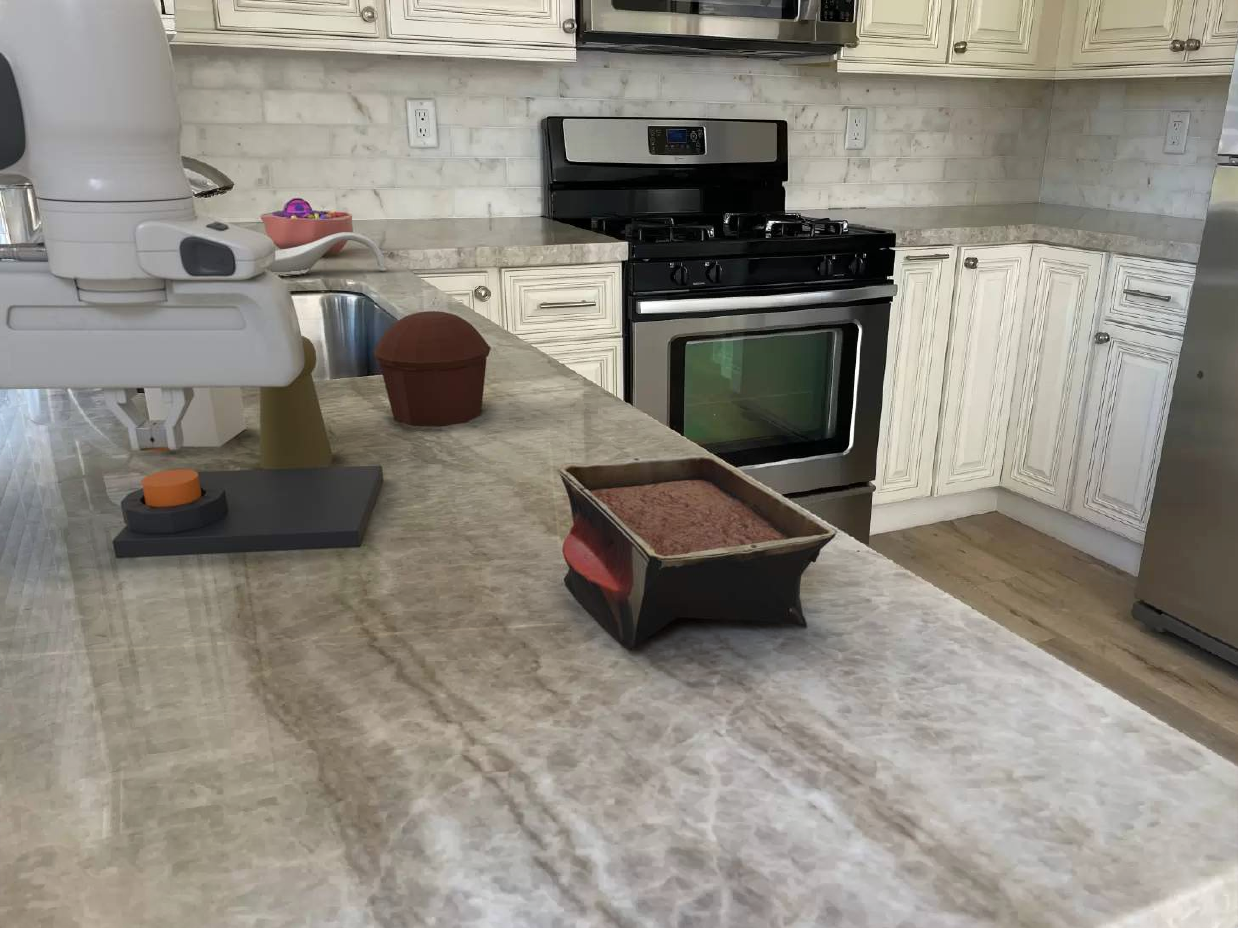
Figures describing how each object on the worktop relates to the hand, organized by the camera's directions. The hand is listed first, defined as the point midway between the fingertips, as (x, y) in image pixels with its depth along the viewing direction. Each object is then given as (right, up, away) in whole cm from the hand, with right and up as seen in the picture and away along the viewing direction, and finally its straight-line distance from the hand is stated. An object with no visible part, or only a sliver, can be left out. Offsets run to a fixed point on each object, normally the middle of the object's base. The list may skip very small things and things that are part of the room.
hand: (158, 448), depth 70 cm
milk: (-8, +2, +24) cm, 25 cm away
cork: (+3, 0, +18) cm, 18 cm away
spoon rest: (-31, +40, +119) cm, 129 cm away
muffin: (+12, +5, +32) cm, 35 cm away
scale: (+5, -5, +6) cm, 9 cm away
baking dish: (+36, -10, -6) cm, 38 cm away
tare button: (0, -4, +2) cm, 4 cm away
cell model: (-41, +49, +142) cm, 155 cm away
